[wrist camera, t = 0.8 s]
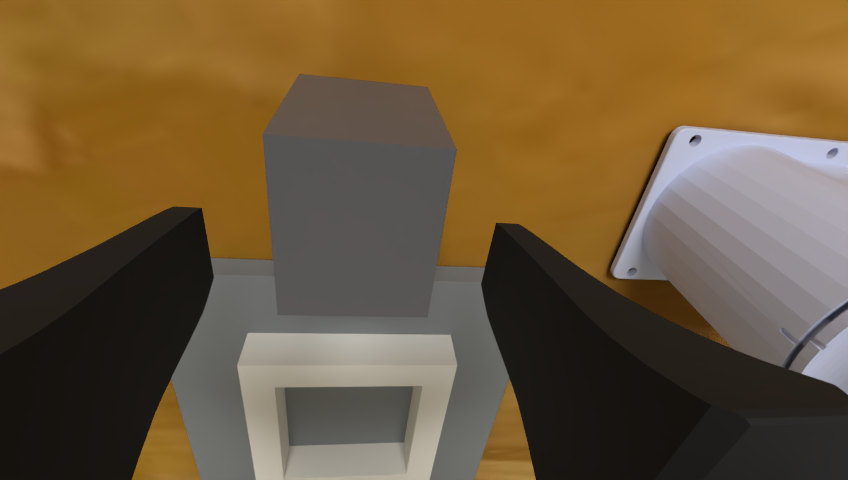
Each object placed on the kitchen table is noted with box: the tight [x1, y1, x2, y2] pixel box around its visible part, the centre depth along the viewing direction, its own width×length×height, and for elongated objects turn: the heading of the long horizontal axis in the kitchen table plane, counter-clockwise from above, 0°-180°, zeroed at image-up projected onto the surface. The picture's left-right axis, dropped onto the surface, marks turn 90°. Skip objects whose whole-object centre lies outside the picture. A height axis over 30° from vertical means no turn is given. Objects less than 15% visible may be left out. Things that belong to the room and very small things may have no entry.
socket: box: [171, 258, 509, 480], centre depth 24 cm, size 18×18×3 cm
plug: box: [263, 74, 457, 318], centre depth 14 cm, size 4×5×7 cm
